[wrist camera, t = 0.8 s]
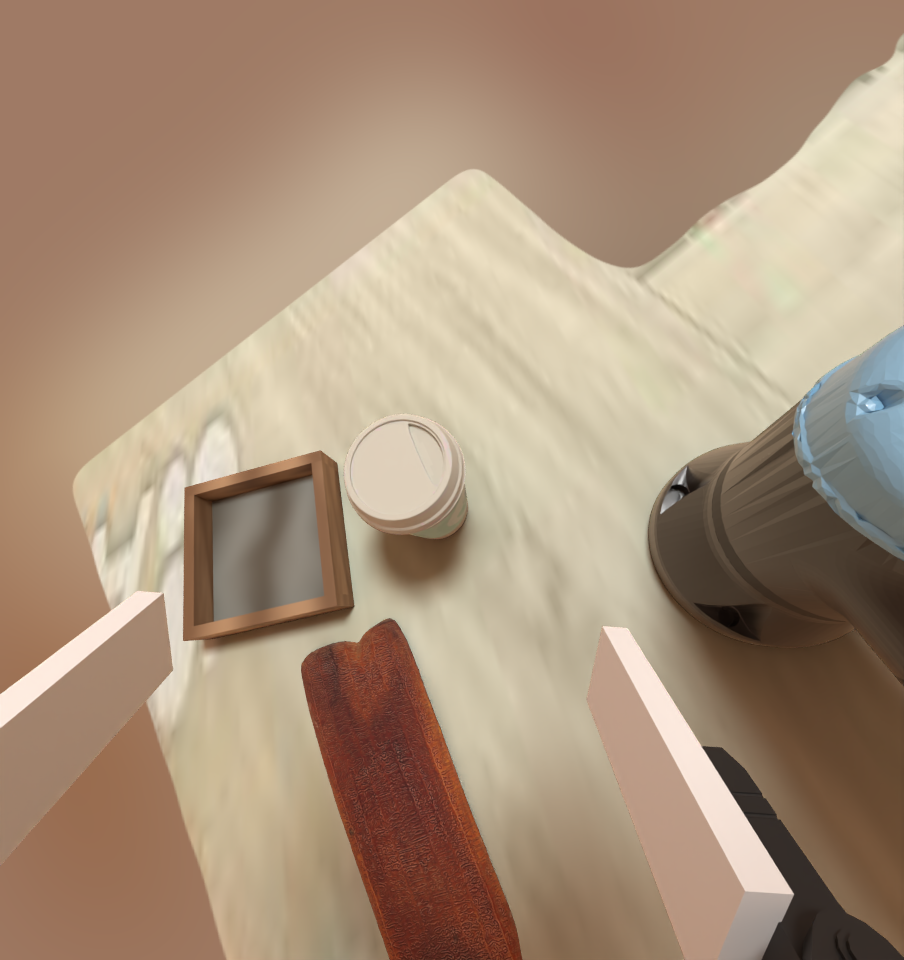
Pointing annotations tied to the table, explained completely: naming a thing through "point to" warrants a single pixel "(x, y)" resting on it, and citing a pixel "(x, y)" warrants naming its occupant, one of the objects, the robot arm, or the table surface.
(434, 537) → the coffee cup
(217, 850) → the table surface
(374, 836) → the wooden tablet
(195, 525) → the wood rimmed frame
